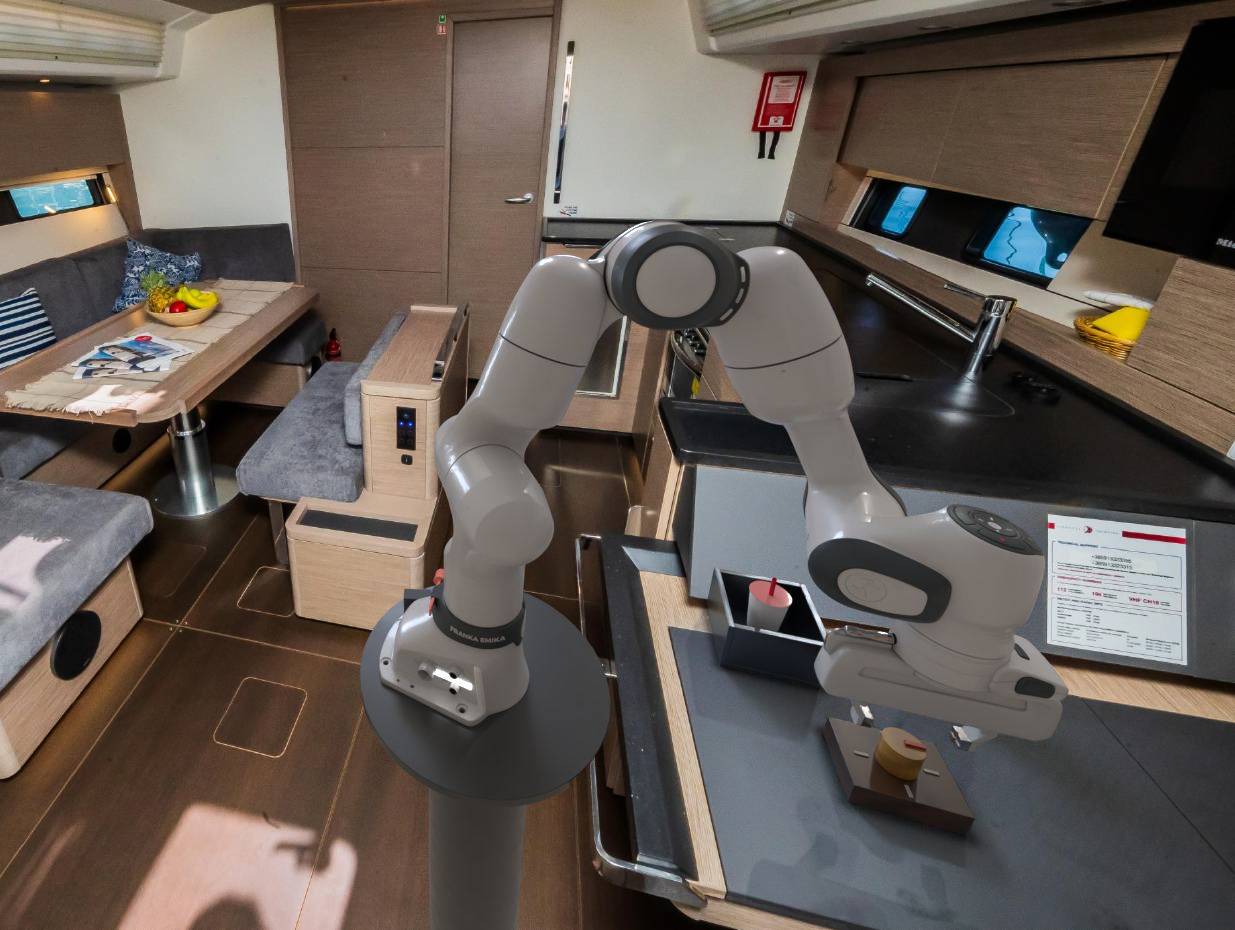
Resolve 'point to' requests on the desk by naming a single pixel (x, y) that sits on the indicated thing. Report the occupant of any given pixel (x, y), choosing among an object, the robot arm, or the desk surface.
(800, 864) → the desk surface
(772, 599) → the cup
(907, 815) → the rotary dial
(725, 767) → the desk surface
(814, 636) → the dark open box
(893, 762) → the tap knob
